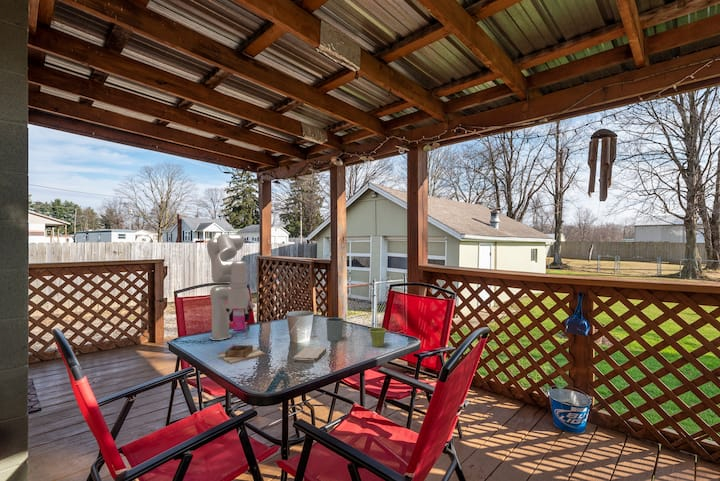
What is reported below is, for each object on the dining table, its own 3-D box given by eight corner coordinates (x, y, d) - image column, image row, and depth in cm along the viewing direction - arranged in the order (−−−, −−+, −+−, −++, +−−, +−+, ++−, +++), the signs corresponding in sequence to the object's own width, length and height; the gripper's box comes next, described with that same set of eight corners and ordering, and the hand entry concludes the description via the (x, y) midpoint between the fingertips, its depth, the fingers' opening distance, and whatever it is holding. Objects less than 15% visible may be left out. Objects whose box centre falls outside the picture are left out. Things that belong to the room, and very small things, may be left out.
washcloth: (291, 363, 161) (291, 356, 161) (304, 351, 178) (304, 345, 178) (315, 364, 158) (315, 358, 159) (326, 352, 176) (326, 346, 176)
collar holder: (217, 356, 170) (217, 348, 170) (251, 348, 183) (250, 340, 183) (230, 364, 159) (230, 355, 159) (265, 355, 171) (265, 347, 171)
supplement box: (233, 328, 172) (233, 306, 172) (246, 328, 174) (246, 305, 174) (232, 331, 166) (232, 308, 167) (245, 330, 168) (245, 307, 168)
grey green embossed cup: (324, 338, 201) (323, 318, 201) (339, 336, 205) (339, 316, 205) (329, 342, 192) (329, 321, 192) (346, 340, 196) (346, 319, 196)
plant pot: (380, 349, 179) (380, 332, 179) (365, 346, 185) (365, 330, 185) (389, 345, 187) (389, 329, 187) (375, 342, 192) (375, 326, 193)
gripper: (218, 287, 167) (219, 323, 167) (253, 286, 166) (253, 323, 166) (225, 285, 174) (225, 320, 174) (258, 284, 174) (258, 319, 174)
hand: (239, 321), depth 170 cm, fingers closed on supplement box, 6 cm apart
